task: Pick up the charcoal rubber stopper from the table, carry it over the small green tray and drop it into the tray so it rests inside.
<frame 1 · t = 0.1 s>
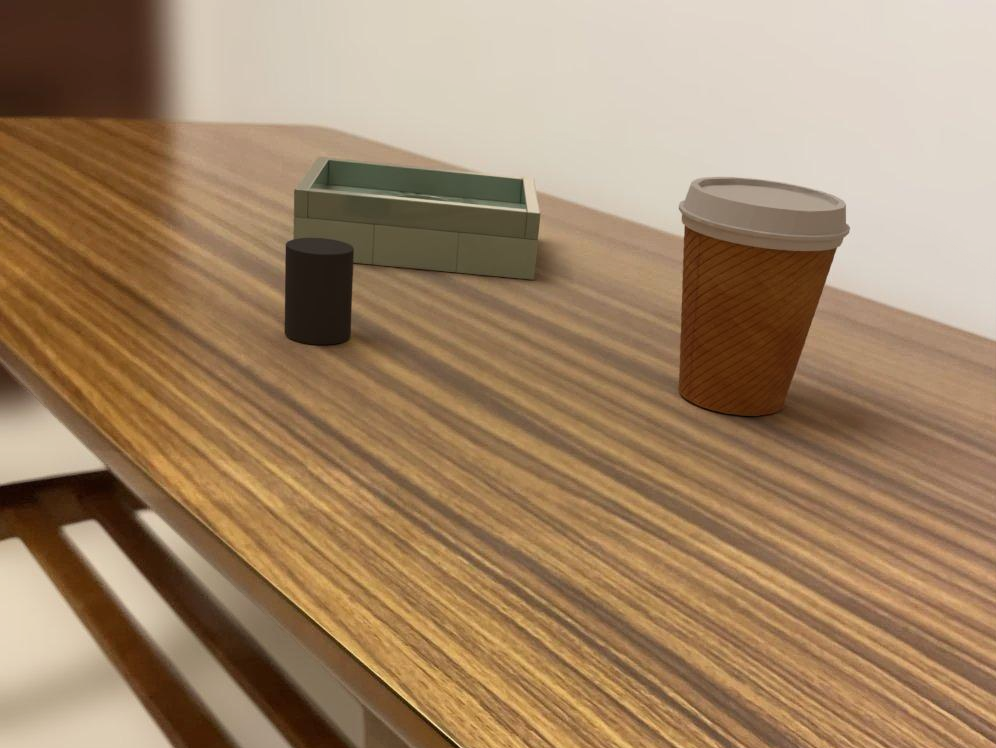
basin rim: (422, 196, 97), on the green tray, point 3 cm above the table
disposable coffee cup: (729, 400, 73), on the table
stopper: (317, 334, 76), on the table
green tray: (418, 246, 99), on the table
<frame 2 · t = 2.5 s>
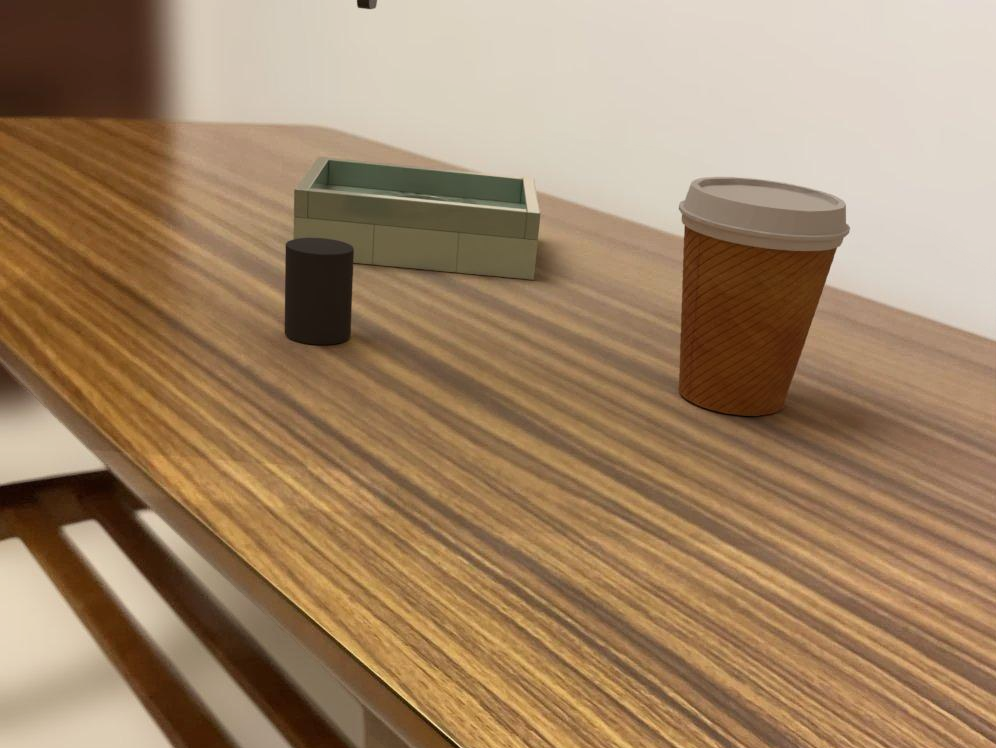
nothing on the table moved.
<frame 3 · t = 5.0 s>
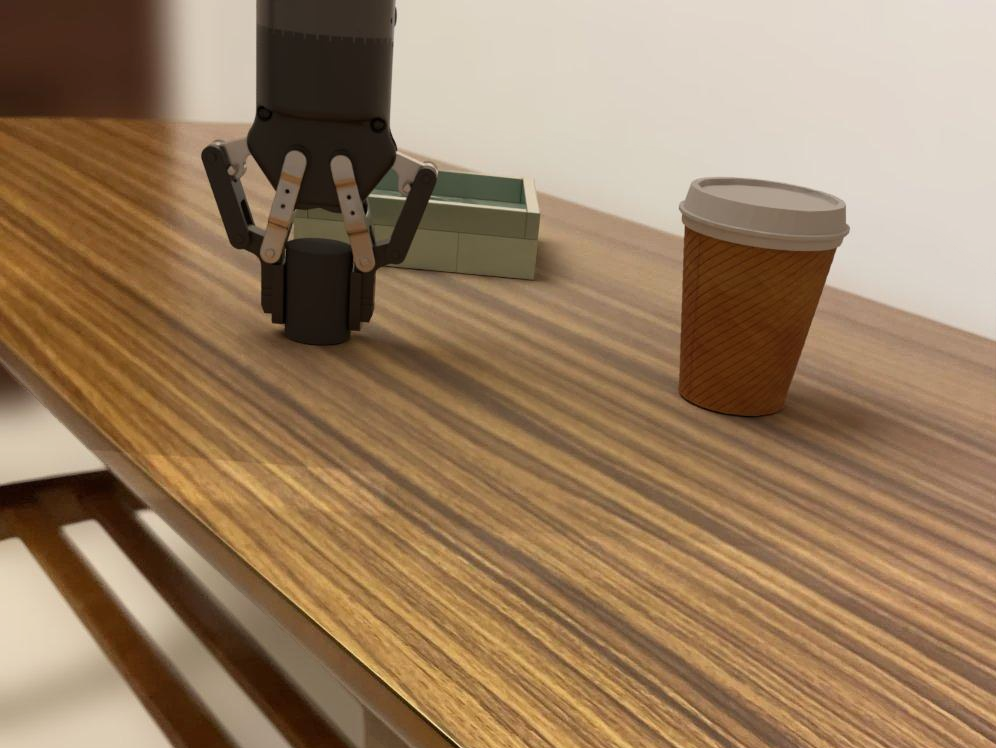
hand: (318, 322, 75), 1 cm above the table, tool pointing down, fingers closed on stopper, 4 cm apart
stopper: (317, 334, 76), on the table, touching gripper
everything else where it was.
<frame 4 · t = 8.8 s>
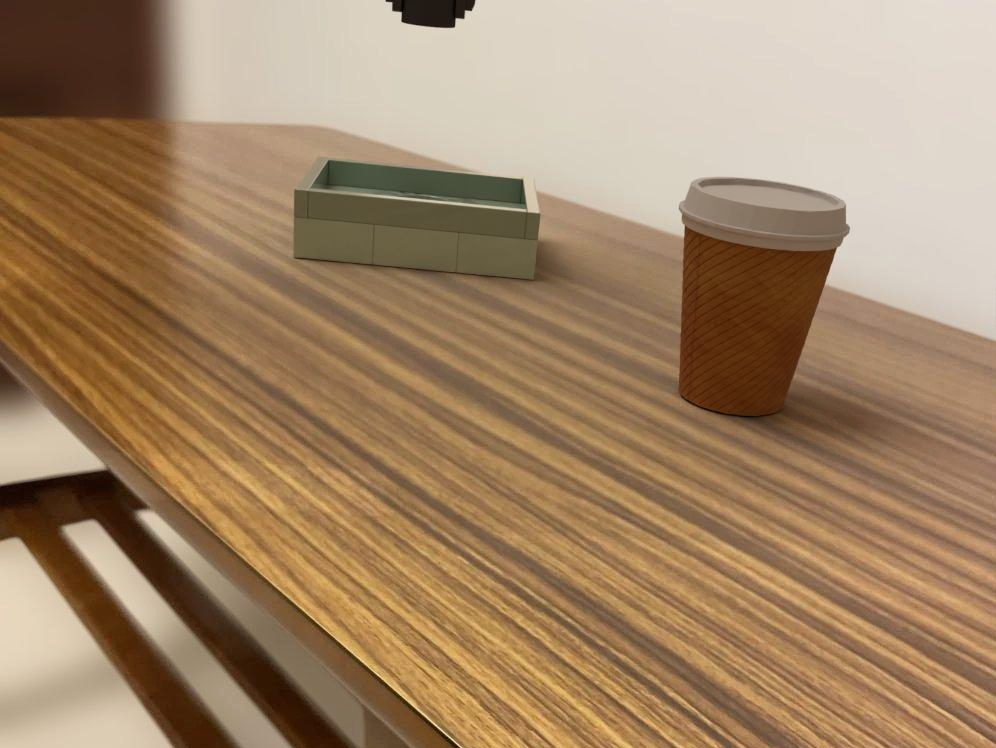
hand: (429, 13, 91), 17 cm above the table, tool pointing down, fingers closed on stopper, 4 cm apart
stopper: (428, 24, 91), point 16 cm above the table, touching gripper
everything else where it was.
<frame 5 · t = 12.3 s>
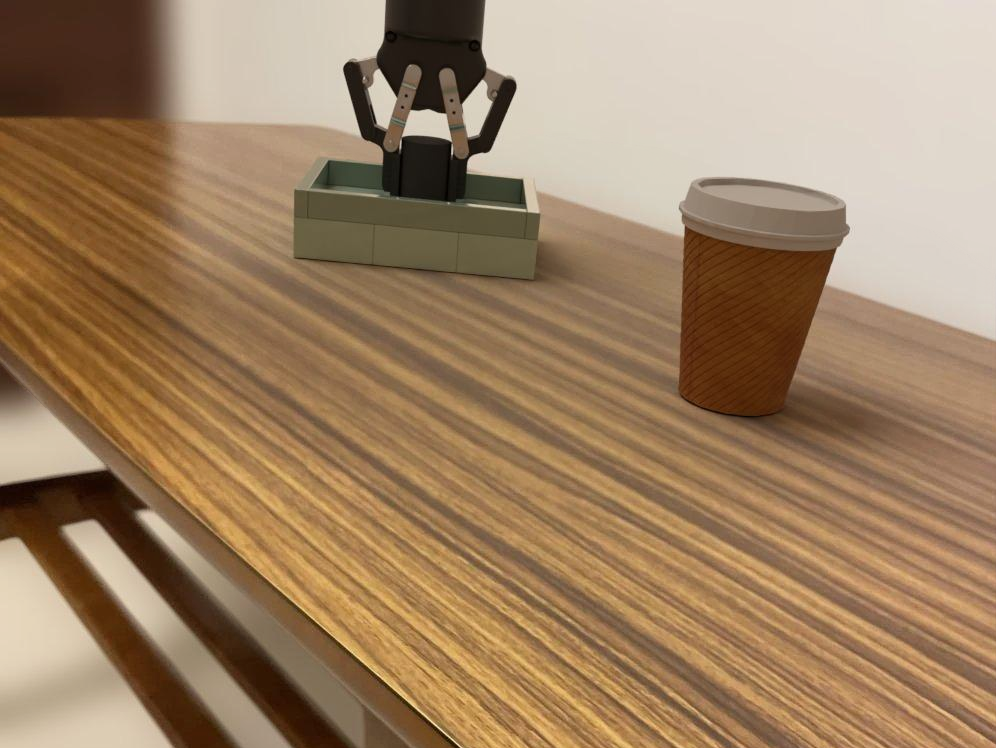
hand: (423, 200, 100), 3 cm above the table, tool pointing down, fingers closed on stopper, 4 cm apart
stopper: (422, 209, 100), point 2 cm above the table, touching gripper
everything else where it was.
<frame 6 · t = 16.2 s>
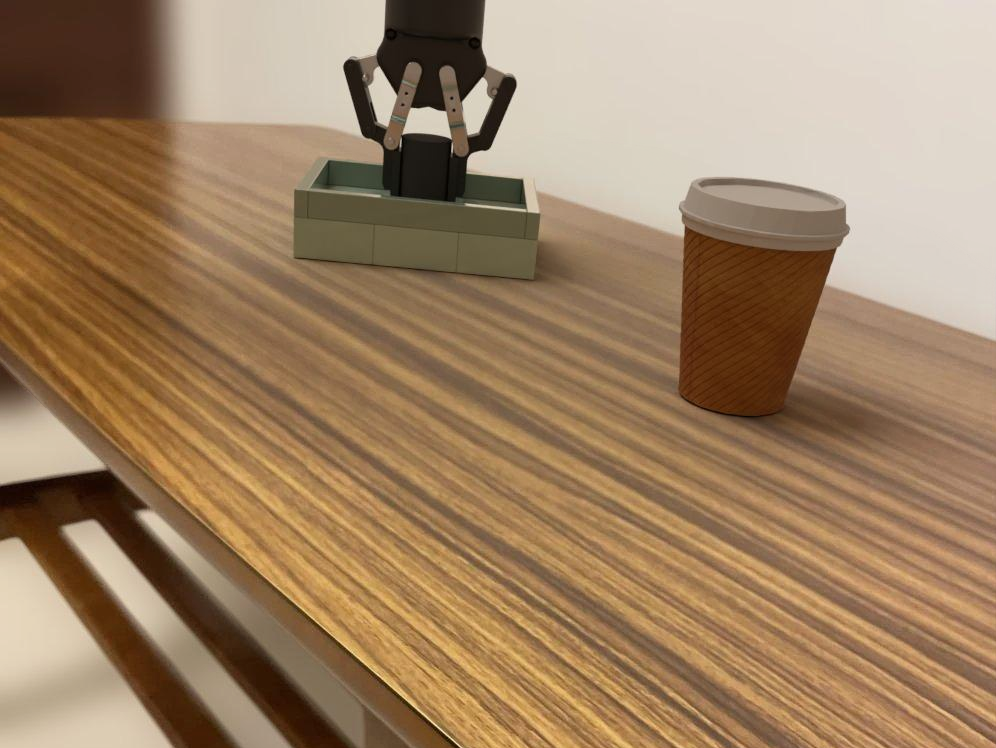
hand: (423, 198, 100), 3 cm above the table, tool pointing down, fingers closed on stopper, 4 cm apart
stopper: (422, 207, 100), point 2 cm above the table, touching gripper
everything else where it was.
when the fingers open (4 cm above the table, at t = 19.6 s): stopper drops 4 cm, resting in green tray.
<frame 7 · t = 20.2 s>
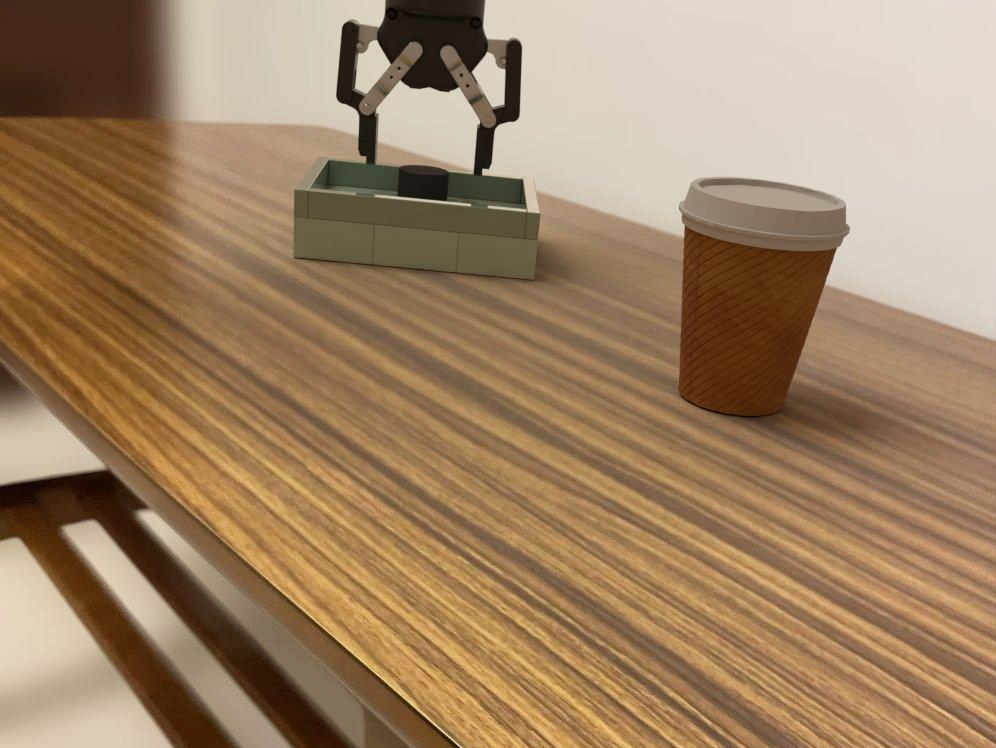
hand: (425, 168, 99), 6 cm above the table, tool pointing down, fingers open, 8 cm apart
stopper: (419, 238, 101), resting in green tray
everything else where it was.
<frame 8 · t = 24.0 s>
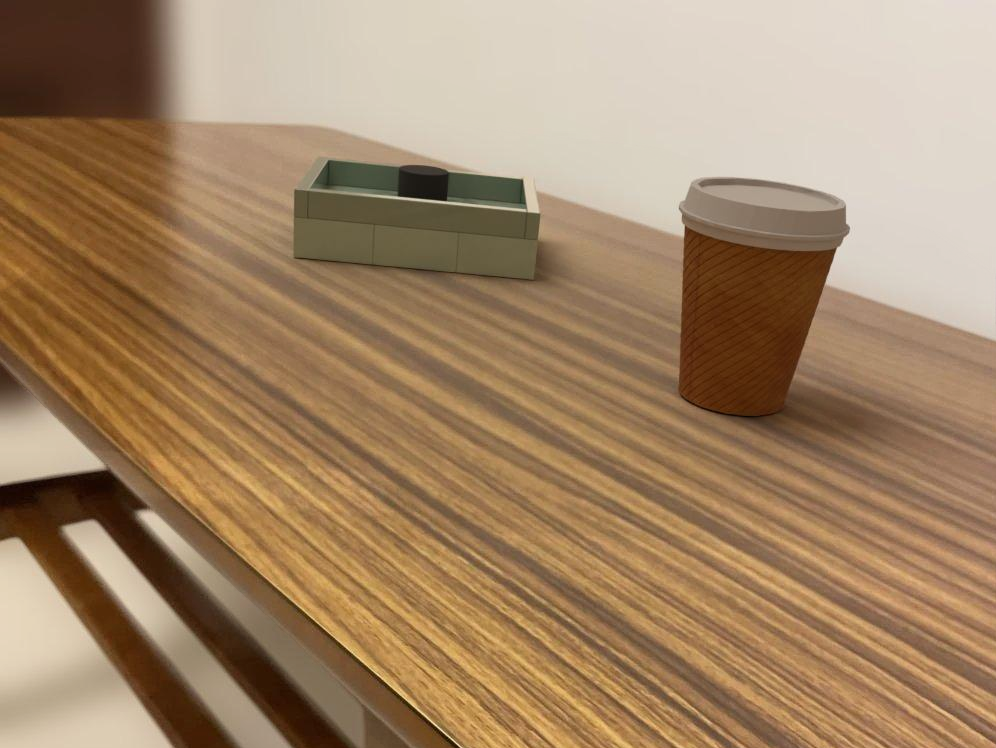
nothing on the table moved.
at the end: stopper 0.1 cm from the target spot in the green tray, point 0.0 cm above the green tray's base; stopper tilted 0° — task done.
